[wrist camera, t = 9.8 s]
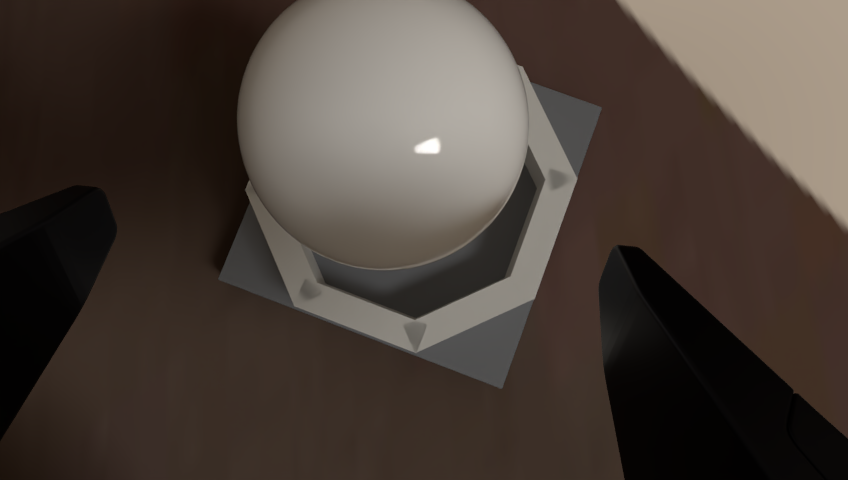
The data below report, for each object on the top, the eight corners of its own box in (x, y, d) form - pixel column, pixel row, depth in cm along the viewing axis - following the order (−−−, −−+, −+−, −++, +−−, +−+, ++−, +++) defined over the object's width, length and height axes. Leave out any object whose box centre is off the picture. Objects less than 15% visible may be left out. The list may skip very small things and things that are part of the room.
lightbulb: (286, 166, 20) (115, 12, 9) (431, 80, 20) (433, -169, 10) (373, 313, 20) (300, 335, 9) (522, 223, 20) (634, 132, 9)
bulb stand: (498, 384, 20) (507, 396, 18) (228, 280, 21) (200, 277, 18) (594, 116, 21) (615, 92, 19) (333, 23, 22) (321, -12, 19)
